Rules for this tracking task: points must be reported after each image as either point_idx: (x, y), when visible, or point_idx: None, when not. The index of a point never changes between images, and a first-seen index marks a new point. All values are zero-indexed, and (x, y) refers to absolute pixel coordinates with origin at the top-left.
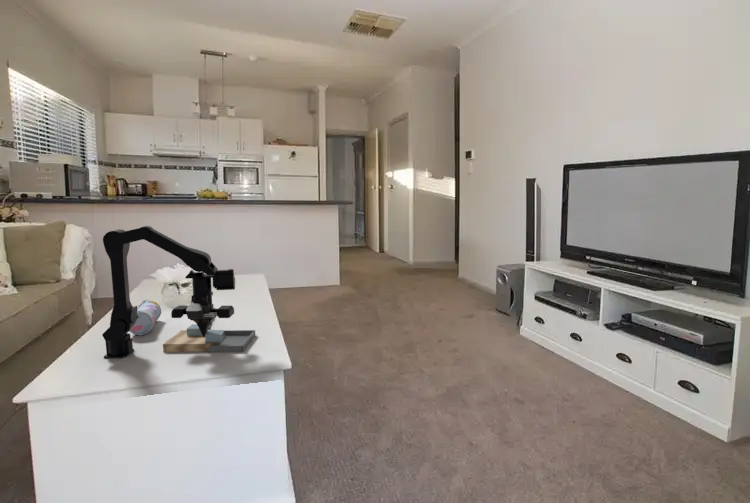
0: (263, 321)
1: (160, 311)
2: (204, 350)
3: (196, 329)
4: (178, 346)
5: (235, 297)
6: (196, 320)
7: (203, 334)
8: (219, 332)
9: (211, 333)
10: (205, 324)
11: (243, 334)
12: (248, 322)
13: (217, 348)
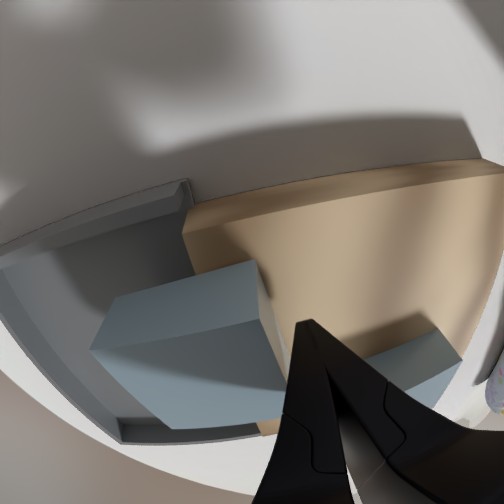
0: (204, 476)
1: (490, 402)
2: (236, 195)
3: (406, 384)
4: (448, 173)
5: (350, 485)
6: (491, 473)
7: (311, 337)
8: (165, 399)
9: (214, 367)
10: (301, 468)
11: (165, 426)
12: (247, 470)
13: (99, 212)
